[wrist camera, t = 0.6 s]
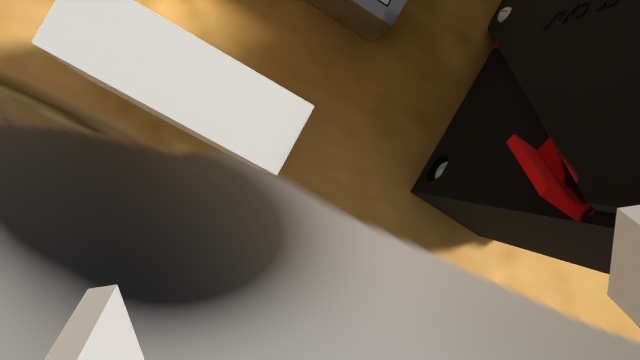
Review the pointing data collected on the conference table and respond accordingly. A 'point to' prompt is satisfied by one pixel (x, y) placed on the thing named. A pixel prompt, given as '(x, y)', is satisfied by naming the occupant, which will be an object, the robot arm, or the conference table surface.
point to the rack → (362, 14)
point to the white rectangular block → (176, 78)
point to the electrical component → (547, 131)
